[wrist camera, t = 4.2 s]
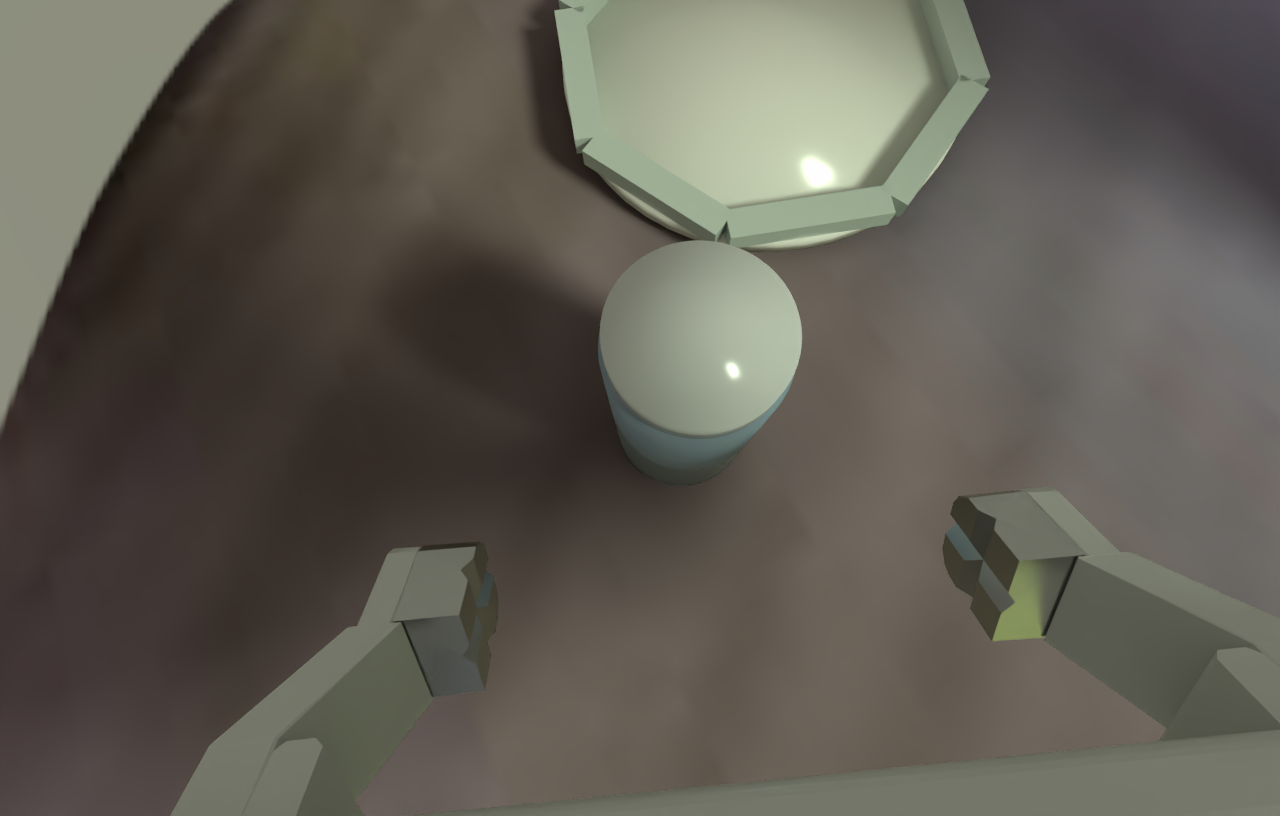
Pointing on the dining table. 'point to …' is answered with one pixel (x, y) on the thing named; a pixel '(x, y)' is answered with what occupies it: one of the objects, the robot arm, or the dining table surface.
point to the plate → (768, 109)
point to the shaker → (696, 356)
